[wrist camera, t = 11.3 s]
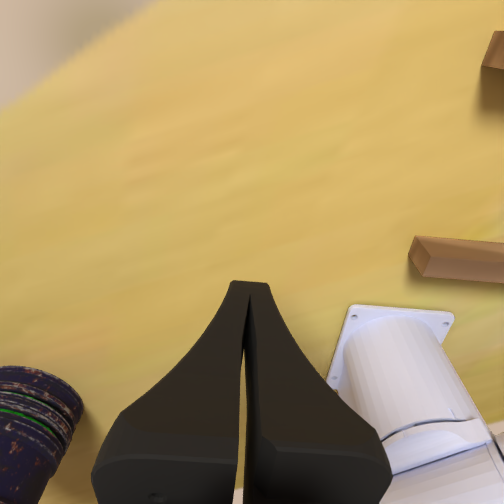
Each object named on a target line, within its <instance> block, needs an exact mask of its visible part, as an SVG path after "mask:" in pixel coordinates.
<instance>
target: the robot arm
mask: <svg viewBox="0 0 504 504" xmlns="http://www.w3.org/2000/svg"><path fill="white" fill-rule="evenodd" d="M353 315H356V316H353ZM352 316H353V317H352ZM454 319H455V317H454V315H453V314H452V313H451V312H446V311H433V310H421V309H408V308H396V307H383V306H371V305H358V304H354V305H351V306H350V307H349V308H348V311H347V315H346V318H345V321H344V324H343V327H342V331H341V334H340V337H339V340H338V344H337V347H336V350H335V353H334V356H333V360H332V363H331V366H330V369H329V372H328V376H327V379H326V381H325V380H324V379H323V378H322V377H321V376H320V375H319V373H318V372H317V371H316V370H315V368H314V367H313V366H312V365H311V363H310V362H309V361H308V359H307V358H306V356H305V355H304V354H303V352H302V351H301V349H300V348H299V346H298V345H297V343H296V342H295V340H294V338H293V337H292V335H291V333H290V332H289V330H288V328H287V326H286V324H285V322H284V320H283V318H282V316H281V315H280V312H279V310H278V308H277V306H276V304H275V301H274V299H273V296H272V293H271V290H270V287H269V285H268V284H267V283H261V282H249V281H236V280H233V281H232V282H230V285H229V289H228V291H227V294H226V296H225V298H224V300H223V302H222V304H221V306H220V308H219V309H218V311H217V313H216V315H215V316H214V318H213V319H212V321H211V322H210V324H209V325H208V327H207V328H206V330H205V331H204V333H203V334H202V335H201V337H200V338H199V339H198V341H197V342H196V343H195V344H194V346H193V347H192V348H191V349H190V351H189V352H188V353H187V354H186V355H185V356H184V357H183V358H182V359H181V360H180V362H179V363H178V364H177V365H176V366H175V367H174V368H173V369H172V370H171V371H170V372H169V373H168V374H167V375H166V376H164V377H163V378H162V379H161V380H160V381H159V382H158V383H157V384H156V385H154V386H153V387H152V388H151V389H150V390H149V391H148V392H146V393H145V394H144V395H143V396H141V397H140V398H139V399H137V400H136V401H135V402H134V403H132V404H131V405H130V406H128V407H127V408H126V409H124V410H123V411H122V412H121V413H120V414H119V416H118V417H117V419H116V420H115V422H114V424H113V425H112V427H111V429H110V431H109V432H108V434H107V436H106V438H105V440H104V442H103V444H102V446H101V449H100V451H99V454H98V456H97V459H96V462H95V464H94V467H93V470H92V472H91V482H92V485H93V488H94V491H95V494H96V498H97V501H98V504H232V502H233V494H234V487H235V480H236V472H237V464H238V445H239V405H240V373H241V365H242V358H243V352H244V356H245V378H246V398H247V423H246V446H245V467H244V487H243V504H504V432H502V433H500V434H498V435H495V436H494V434H493V433H492V432H491V431H490V430H489V428H488V426H487V425H486V423H485V421H484V419H483V418H482V416H481V414H480V412H479V411H478V409H477V407H476V406H475V404H474V402H473V400H472V399H471V397H470V395H469V393H468V392H467V390H466V388H465V386H464V385H463V383H462V381H461V379H460V378H459V376H458V374H457V372H456V371H455V369H454V367H453V365H452V364H451V362H450V360H449V358H448V357H447V355H446V353H445V352H444V350H443V348H442V346H441V344H442V342H443V340H444V338H445V336H446V335H447V333H448V331H449V329H450V327H451V325H452V323H453V322H454ZM445 322H446V323H445ZM333 389H337V390H338V395H339V396H338V395H337V394H336V393H335V391H334V390H333Z"/></svg>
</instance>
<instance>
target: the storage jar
mask: <svg viewBox="0 0 504 504" xmlns="http://www.w3.org/2000/svg"><path fill="white" fill-rule="evenodd" d="M82 413H83V403H82V400H81V398H80V396H79V395H78V393H77V392H76V391H75V390H74V389H73V388H72V387H71V386H70V385H69V384H67V383H66V382H64V381H63V380H61V379H59V378H58V377H56V376H54V375H51V374H49V373H47V372H44V371H41V370H38V369H34V368H30V367H23V366H2V367H0V504H38V502H39V500H40V498H41V496H42V494H43V491H44V489H45V487H46V485H47V483H48V481H49V479H50V478H51V477H52V476H53V475H54V474H55V472H56V470H57V468H58V466H59V464H60V462H61V459H62V457H63V456H64V455H65V453H66V451H67V449H68V447H69V445H70V442H71V440H72V435H73V433H74V431H75V427H76V424H77V423H78V422H79V420H80V418H81V415H82Z"/></svg>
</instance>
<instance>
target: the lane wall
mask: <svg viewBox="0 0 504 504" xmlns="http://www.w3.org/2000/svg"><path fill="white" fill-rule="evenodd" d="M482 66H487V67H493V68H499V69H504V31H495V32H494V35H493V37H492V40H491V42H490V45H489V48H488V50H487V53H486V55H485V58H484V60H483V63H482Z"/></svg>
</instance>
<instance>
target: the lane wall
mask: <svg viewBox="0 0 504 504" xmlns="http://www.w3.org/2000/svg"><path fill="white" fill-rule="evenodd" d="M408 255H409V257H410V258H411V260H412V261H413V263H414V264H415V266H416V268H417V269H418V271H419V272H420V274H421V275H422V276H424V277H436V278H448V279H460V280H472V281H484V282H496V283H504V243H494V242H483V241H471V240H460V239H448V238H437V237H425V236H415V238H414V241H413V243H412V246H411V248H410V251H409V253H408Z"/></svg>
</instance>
